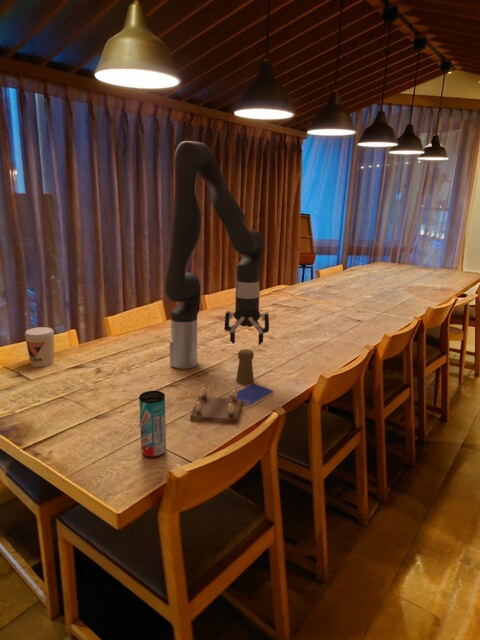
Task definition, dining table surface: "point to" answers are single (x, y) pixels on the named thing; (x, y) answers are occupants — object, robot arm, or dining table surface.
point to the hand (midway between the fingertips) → (246, 343)
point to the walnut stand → (216, 408)
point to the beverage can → (152, 424)
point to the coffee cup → (40, 346)
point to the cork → (245, 367)
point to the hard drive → (252, 394)
